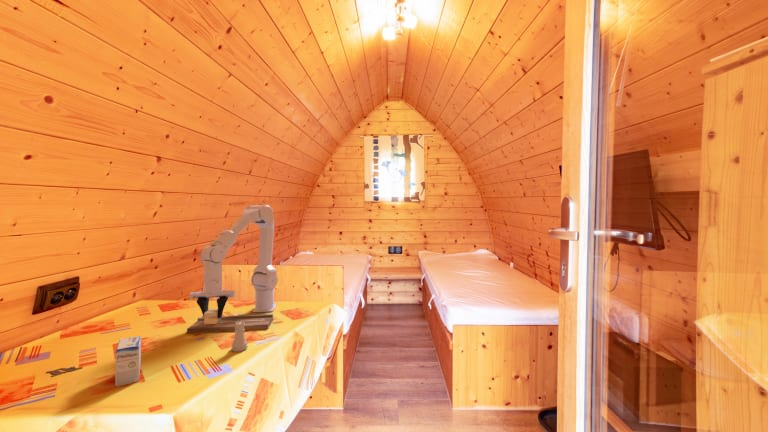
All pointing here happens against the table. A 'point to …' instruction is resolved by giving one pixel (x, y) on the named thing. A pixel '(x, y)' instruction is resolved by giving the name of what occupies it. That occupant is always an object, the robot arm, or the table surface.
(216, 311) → the block
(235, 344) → the rook chess piece
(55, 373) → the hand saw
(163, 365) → the table surface
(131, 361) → the medicine box
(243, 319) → the walnut board
